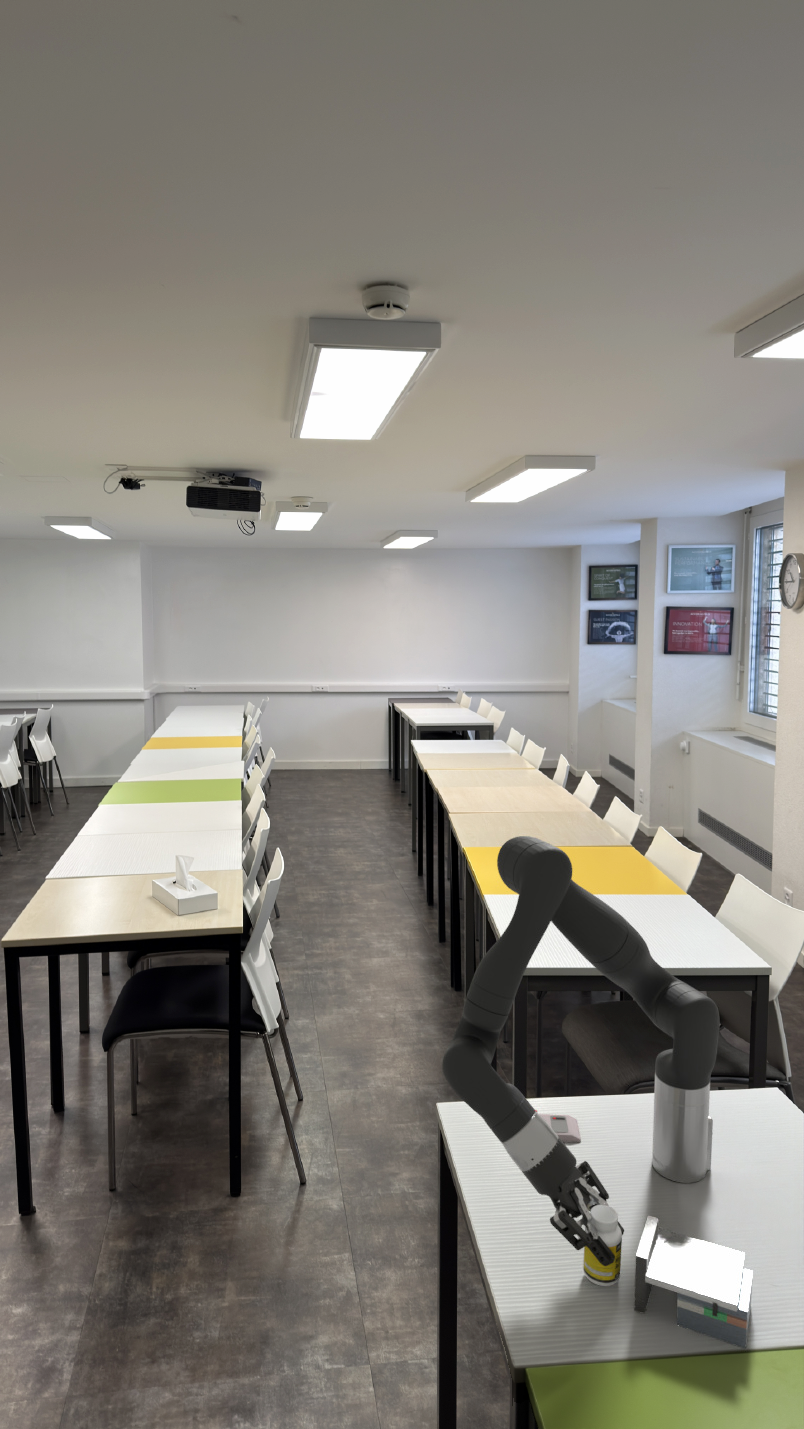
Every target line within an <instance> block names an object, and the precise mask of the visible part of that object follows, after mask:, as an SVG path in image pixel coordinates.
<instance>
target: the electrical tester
mask: <svg viewBox="0 0 804 1429" xmlns="http://www.w3.org/2000/svg"><path fill="white" fill-rule="evenodd" d="M535 1111H536V1112H537V1113H538V1110H537V1109H535ZM538 1114H539V1115H540V1116H541V1117H542V1118H543V1119H544V1120H545V1121H546V1122H547V1123H548V1124H549V1125H550V1127H551V1128H552V1129H553V1130H554V1132H555V1133H556V1134H557V1135H558V1137H559V1138H560V1139H561V1140H562V1142H565V1143H567V1142H568V1143H581V1142H582V1137H581V1133H580V1132H581V1131H580V1128H579V1122H578V1119H577V1118H576V1117H574V1116H572V1115H568V1114H550V1113H549V1114H547V1113H538Z"/></svg>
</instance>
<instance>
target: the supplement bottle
mask: <svg viewBox="0 0 804 1429" xmlns="http://www.w3.org/2000/svg"><path fill="white" fill-rule="evenodd" d="M589 1213H590V1215H591V1217H592V1220H591V1223H592V1225H593V1227H594V1229H595V1231H596V1233H597V1235H598V1236H600V1237H601V1239H602V1240H603V1241H604V1243H605V1244H606V1245H607V1246H608V1248H609V1249H610V1250H611V1251H612V1253H613V1254H614V1255H615V1260H614V1262H613V1263H611V1264H609V1265H608V1266H603V1265H602V1264H601V1263H600V1262H599V1261H598V1260H597V1258H596V1257H595V1256H594V1254H593V1253H592V1252H591V1251H590V1249H589V1248H588V1247H586V1246H585V1247H583V1260H582V1261H583V1263H582V1265H583V1266H582V1268H583V1269H582V1270H583V1273H584V1275H585V1277H586V1279H587V1280H588V1281H590V1282H591V1283H593V1284H595V1285H598V1286H601V1287H609V1286H613V1285H615V1284H617V1283H618V1281H619V1279H620V1277H621V1265H622V1264H621V1263H622V1262H621V1261H622V1245H623V1244H622V1243H623V1242H622V1241H623V1235H622V1232H621V1229H620V1227H619V1226H618V1222H619V1213H618V1212H617V1211H616V1209H615V1208H613V1207H611V1206H610V1205H609V1206H607V1205H596V1206H594V1207H593V1208H592V1209H591V1211H589ZM584 1231H585V1232H586V1233H588V1231H587V1229H586V1227H585V1226H584Z"/></svg>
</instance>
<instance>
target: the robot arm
mask: <svg viewBox="0 0 804 1429" xmlns="http://www.w3.org/2000/svg"><path fill="white" fill-rule="evenodd" d="M496 863H497V864H496V865H497V871H498V874H499V877H500V879H501V881H502V882H503V884H504V885H505V886H506V887H507V888H508V889H510V891H512V892H514V893H516V894H517V895H518V898H517V901H516V902H517V903H516V906H515V910H514V913H513V915H512V918H511V920H510V921H509V923H508V926H507V927H506V928H505V930H504V931H503V933H502V934H501V935H500V937H499V938H498V939H497V940H496V941H495V943H494V944H493V945H492V946H491V947H490V948H489V950H487V952H486V953H485V954H484V956H483V957H482V959H481V960H480V962H479V964H478V966H477V968H476V969H475V972H474V975H473V976H472V977H473V978H472V980H471V983H470V985H469V989H468V991H467V994H466V996H465V999H464V1001H463V1002H464V1004H463V1006H462V1015H461V1017H460V1020H459V1022H458V1024H457V1027H456V1029H455V1032H454V1034H453V1037H452V1039H451V1041H450V1044H449V1046H448V1048H447V1049H446V1051H445V1053H444V1055H443V1057H442V1060H441V1062H442V1063H441V1068H442V1073H443V1076H444V1078H445V1080H446V1082H447V1084H448V1085H449V1086H450V1088H451V1090H453V1092H454V1093H455V1094H456V1095H457V1096H458V1097H459V1098H460V1099H461V1100H462V1101H463V1102H464V1103H465V1104H467V1106H468V1107H470V1109H472V1110H473V1111H474V1112H475V1113H476V1114H478V1115H479V1116H480V1117H481V1118H482V1119H483V1120H484V1122H485V1124H486V1126H488V1128H489V1129H490V1130H491V1131H492V1132H491V1133H493V1134H494V1135H495V1136H496V1138H497V1140H499V1142H500V1143H501V1145H502V1146H503V1148H504V1149H505V1151H506V1153H507V1154H508V1155H509V1157H510V1160H512V1161H513V1162H514V1164H515V1165H516V1166H517V1167H518V1169H519V1170H520V1172H521V1173H522V1174H523V1175H524V1177H526V1179H527V1180H528V1182H529V1184H531V1186H532V1187H533V1188H534V1189H535V1190H536V1192H537V1193H538V1194H539V1195H542V1196H548V1198H549V1199H550V1200H551V1202H552V1204H553V1207H554V1208H555V1212H554V1213H555V1214H554V1215H553V1216H550V1218H549V1222H550V1224H551V1225H552V1227H553V1228H555V1230H556V1231H557V1232H559V1234H560V1235H561V1236H563V1237H564V1239H565V1240H566V1241H567V1242H568V1243H569V1244H571V1246H572V1247H573V1248H575V1250H576V1251H580V1250H582V1249H584V1247H585V1246H586V1247H588V1248H589V1249H590V1251H591V1252H592V1253H593V1254H594V1256H595V1257H596V1258H597V1260H598V1261H599V1262H600V1263H601V1264H602V1265H603V1266H608V1265H609V1264H611V1263H613V1262H614V1260H615V1255H614V1254H613V1253H612V1251H611V1250H610V1249H609V1248H608V1246H607V1245H606V1244H605V1243H604V1241H603V1240H602V1239H601V1237H600V1236H598V1235H597V1233H596V1231H595V1229H594V1227H593V1225H592V1223H591V1220H592V1217H591V1215H590V1211H591V1209H592V1208H593V1207H594V1206H596V1205H607V1206H610V1205H609V1203H608V1202H607V1200H608V1199H609V1198H610V1196H609V1193H608V1191H607V1190H606V1188H605V1187H604V1185H603V1184H602V1182H601V1181H600V1179H599V1178H598V1176H597V1174H596V1172H594V1170H593V1169H592V1167H591V1165H590V1164H589V1162H588V1161H586V1160H584V1161H583V1162H581V1163H579V1164H577V1158H576V1157H575V1155H574V1154H573V1153H572V1151H571V1150H570V1149H569V1147H567V1145H566V1144H565V1143H564V1141H562V1140H561V1139H560V1138H559V1137H558V1135H557V1134H556V1133H555V1132H554V1130H553V1129H552V1128H551V1127H550V1125H549V1124H548V1123H547V1122H546V1121H545V1120H544V1119H543V1118H542V1117H541V1116H540V1115H539V1114H540V1113H538V1111H537V1112H536V1111H535V1110H536V1109H535V1108H534V1106H532V1104H531V1103H530V1101H529V1100H528V1099H527V1098H526V1097H525V1096H524V1094H523V1093H522V1092H521V1091H520V1090H519V1089H518V1087H516V1086H515V1085H514V1084H512V1083H510V1082H509V1083H506V1081H505V1079H503V1077H501V1075H500V1074H499V1073H498V1072H497V1071H496V1070H495V1068H494V1067H493V1066H492V1061H493V1059H494V1056H495V1052H496V1049H497V1046H498V1042H499V1040H500V1036H501V1031H502V1029H503V1028H504V1026H505V1024H506V1022H507V1019H508V1017H509V1015H510V1012H511V1010H512V1006H513V1004H514V1001H515V999H516V995H517V992H518V990H519V987H520V984H521V982H522V980H523V977H524V974H525V972H526V969H527V967H528V966H529V963H530V961H531V959H532V957H533V955H534V953H535V951H536V950H537V948H538V946H539V944H540V942H541V941H542V939H543V937H544V935H545V933H546V931H547V929H548V927H549V925H550V924H551V923H552V924H553V925H554V926H555V928H556V929H557V930H558V931H559V932H560V933H561V934H562V935H563V937H564V938H566V939H567V941H568V942H569V943H570V944H571V945H572V946H573V947H574V948H575V950H576V951H577V952H579V953H580V954H581V955H582V957H583V958H585V960H587V962H589V964H591V965H592V966H593V967H594V968H595V969H596V970H597V971H598V972H599V973H601V974H602V975H603V976H604V977H605V978H607V979H608V980H609V981H611V982H613V984H615V985H616V986H618V987H620V988H622V990H624V991H626V993H627V994H628V995H630V996H631V997H632V998H633V1000H634V1001H635V1002H636V1003H637V1005H638V1006H639V1007H640V1008H641V1010H642V1011H643V1012H644V1013H645V1015H646V1016H647V1017H648V1018H649V1020H650V1021H651V1022H652V1023H653V1025H654V1026H655V1027H657V1028H658V1029H659V1030H660V1031H662V1032H663V1033H664V1034H666V1035H668V1036H669V1037H671V1038H672V1040H673V1044H672V1045H673V1046H672V1048H670V1049H665V1050H663V1051H661V1052H659V1053H658V1054H657V1056H656V1058H655V1062H654V1063H655V1065H654V1066H655V1067H654V1071H655V1072H654V1098H653V1121H652V1122H653V1125H652V1126H653V1127H652V1152H651V1153H652V1155H651V1156H652V1159H651V1164H652V1167H653V1168H654V1170H655V1171H656V1172H657V1173H658V1174H659V1175H661V1177H664V1178H666V1179H668V1180H671V1181H673V1182H677V1183H684V1184H687V1183H689V1184H691V1183H696V1182H698V1181H701V1180H702V1179H704V1177H705V1176H706V1174H707V1171H709V1170H712V1149H713V1148H712V1146H713V1126H714V1123H713V1122H714V1120H713V1118H712V1117H711V1116H710V1115H709V1114H710V1099H711V1098H710V1096H711V1095H710V1093H711V1075H712V1072H713V1069H714V1067H715V1065H716V1061H717V1054H718V1044H719V1043H718V1042H719V1035H720V1034H719V1033H720V1021H721V1020H720V1013H719V1008H718V1006H717V1004H716V1002H715V1000H713V999H712V998H710V997H709V996H707V995H705V994H704V993H702V992H701V991H699V990H698V989H696V988H694V987H693V986H691V985H689V984H688V983H686V982H685V981H682V980H680V979H678V977H676V976H674V975H673V974H671V973H670V972H668V971H667V970H666V969H665V968H664V967H662V966H661V965H660V964H659V963H658V962H657V961H655V959H654V958H653V956H652V955H651V952H650V950H649V947H648V945H647V942H646V940H645V939H644V937H642V935H641V934H640V933H639V932H638V931H637V929H635V927H633V925H632V924H630V922H629V921H628V920H626V918H625V917H623V915H621V914H620V913H619V912H618V911H617V910H615V909H614V908H612V907H611V906H610V905H608V903H606V902H604V901H603V900H602V899H601V898H599V897H597V896H595V895H594V894H593V893H592V892H590V891H589V890H587V889H585V888H584V887H582V886H581V885H579V884H578V883H577V882H575V881H574V880H573V879H572V877H573V865H572V862H571V859H570V857H569V856H568V855H567V853H566V852H565V851H564V850H562V849H561V848H559V847H557V846H555V845H553V844H551V843H548V842H547V841H544V840H542V839H539V838H538V837H533V836H527V835H526V836H525V835H522V836H519V835H518V836H515V837H513V838H509V839H508V840H507V841H505V842H504V843H503V845H501V847H500V849H499V852H498V854H497V859H496ZM594 1187H595V1188H596V1189H595V1188H594ZM581 1216H582V1217H581ZM579 1217H581V1218H580V1219H579V1220H576V1219H577V1218H579ZM582 1226H584V1228H585V1227H586V1229H587V1231H588V1233H586V1232H585V1229H583V1228H582ZM618 1226H619V1227H620V1229H621V1232H622V1236H623V1235H624V1232H625V1229H624V1227H623V1226H622V1225H621V1223H620V1221H618ZM575 1235H577V1237H578V1238H577V1237H576V1236H575Z"/></svg>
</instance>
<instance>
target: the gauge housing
mask: <svg viewBox="0 0 804 1429" xmlns="http://www.w3.org/2000/svg"><path fill="white" fill-rule="evenodd" d="M753 1272H754V1271H753V1270H750V1269H747V1268H744V1267H743V1272H742V1279H741V1286H740V1293H739V1300H738V1307H737V1312H736V1311H733V1310H730V1309H727V1308H724V1307H721V1306H718V1314H717V1317H716V1316H713V1315H712V1311H713V1304H711V1303H708V1302H705V1301H702V1300H699V1299H696V1298H693V1297H690V1296H687V1295H684V1294H681V1293H678V1292H677V1301H676V1303H677V1304H676V1308H677V1309H676V1310H677V1311H676V1326H678V1325H679V1326H678V1327H681V1326H682V1328H684V1329H686V1328H688V1329H687V1330H689V1329H690V1330H689V1331H692V1332H695V1333H698V1334H701V1335H705V1336H706V1337H707V1336H708V1337H711V1338H713V1339H716V1340H720V1341H721V1342H722V1341H723V1342H725V1343H727V1344H731V1345H734V1346H737V1347H740V1348H743V1349H746V1348H747V1341H748V1333H749V1332H748V1331H749V1325H750V1324H749V1323H750V1315H751V1310H752V1309H751V1308H752V1291H753V1274H754V1273H753Z"/></svg>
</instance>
